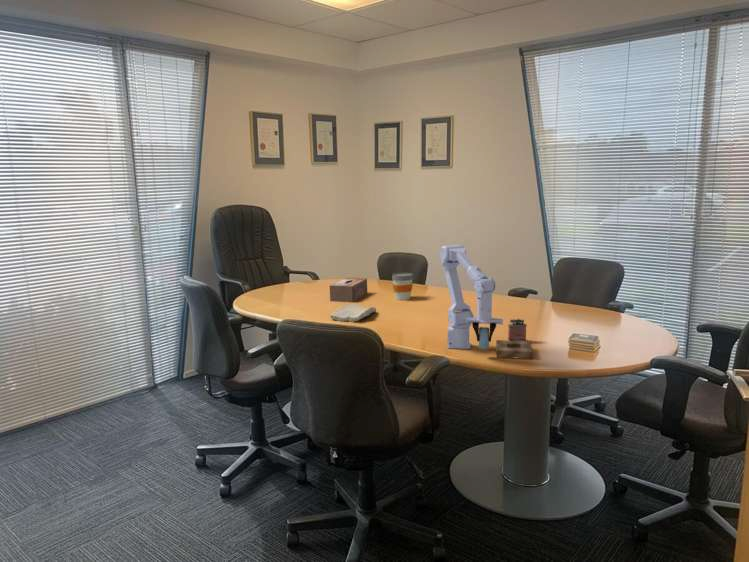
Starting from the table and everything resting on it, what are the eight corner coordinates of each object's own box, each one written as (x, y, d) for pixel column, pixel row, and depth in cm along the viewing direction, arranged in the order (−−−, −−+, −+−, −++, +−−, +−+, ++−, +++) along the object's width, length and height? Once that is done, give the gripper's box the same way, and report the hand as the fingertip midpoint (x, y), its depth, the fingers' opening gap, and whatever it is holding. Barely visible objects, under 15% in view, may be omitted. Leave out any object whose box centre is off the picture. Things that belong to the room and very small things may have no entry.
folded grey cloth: (382, 314, 296) (350, 308, 304) (382, 301, 294) (350, 295, 302) (361, 327, 275) (328, 320, 283) (362, 313, 273) (328, 306, 281)
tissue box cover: (346, 292, 351) (346, 277, 349) (367, 293, 346) (366, 278, 344) (330, 301, 327) (329, 285, 325) (352, 302, 322) (351, 286, 321)
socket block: (496, 357, 218) (496, 350, 218) (496, 346, 232) (496, 340, 231) (532, 358, 215) (532, 351, 215) (530, 348, 229) (530, 341, 228)
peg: (478, 348, 217) (478, 329, 215) (478, 345, 221) (479, 326, 219) (488, 349, 216) (489, 329, 215) (488, 345, 220) (489, 327, 218)
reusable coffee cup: (388, 299, 327) (388, 275, 324) (399, 295, 337) (399, 271, 334) (406, 301, 320) (405, 276, 317) (417, 297, 330) (416, 273, 327)
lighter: (524, 339, 241) (525, 317, 239) (527, 341, 238) (527, 319, 236) (506, 340, 241) (507, 318, 239) (509, 342, 237) (509, 320, 236)
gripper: (465, 310, 213) (465, 343, 216) (503, 311, 210) (502, 344, 213) (466, 305, 220) (466, 337, 222) (503, 306, 217) (502, 339, 219)
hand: (483, 340), depth 218 cm, fingers closed on peg, 4 cm apart
